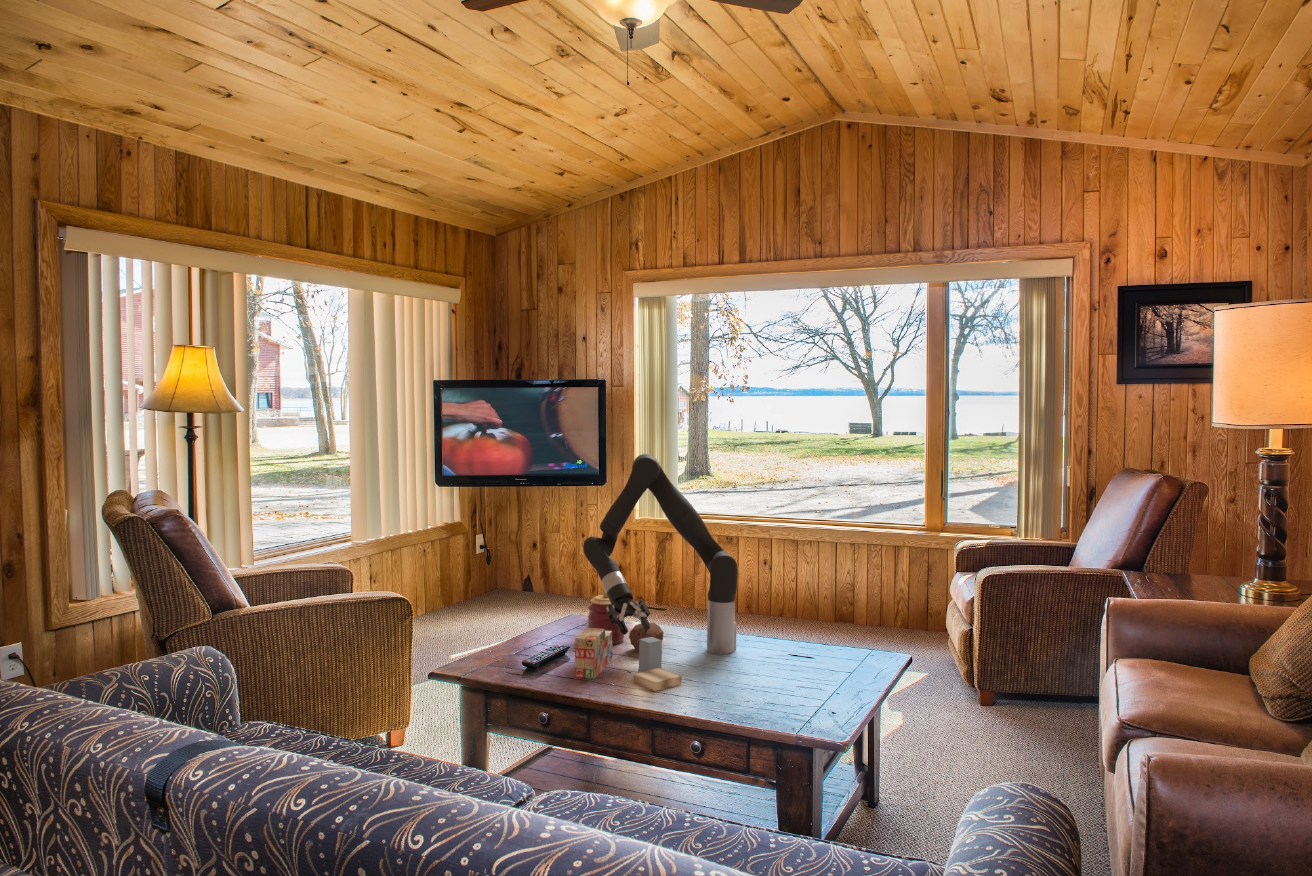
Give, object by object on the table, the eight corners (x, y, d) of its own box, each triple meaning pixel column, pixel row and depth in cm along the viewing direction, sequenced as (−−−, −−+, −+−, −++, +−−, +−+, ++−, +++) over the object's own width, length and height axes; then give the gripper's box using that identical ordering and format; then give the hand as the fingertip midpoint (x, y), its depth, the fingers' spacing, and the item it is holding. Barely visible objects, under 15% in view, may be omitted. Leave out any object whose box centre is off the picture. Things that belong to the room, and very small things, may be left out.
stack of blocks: (593, 657, 272) (594, 620, 271) (612, 659, 270) (613, 621, 270) (574, 677, 251) (575, 637, 250) (594, 679, 250) (595, 638, 249)
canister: (609, 647, 283) (610, 596, 283) (579, 641, 290) (580, 591, 290) (631, 639, 294) (632, 590, 294) (602, 633, 301) (602, 585, 301)
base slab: (659, 677, 254) (659, 667, 254) (681, 686, 246) (681, 676, 246) (633, 683, 247) (633, 673, 247) (654, 692, 240) (654, 682, 240)
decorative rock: (649, 658, 272) (650, 628, 272) (621, 652, 278) (621, 622, 278) (670, 649, 283) (670, 620, 283) (642, 643, 289) (643, 615, 289)
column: (651, 668, 261) (652, 636, 261) (661, 672, 257) (662, 640, 257) (638, 671, 258) (639, 639, 258) (648, 675, 254) (649, 642, 254)
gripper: (603, 584, 265) (623, 627, 256) (639, 579, 274) (660, 621, 265) (593, 597, 269) (613, 641, 261) (629, 592, 278) (649, 634, 269)
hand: (637, 631), depth 263 cm, fingers open, 8 cm apart
